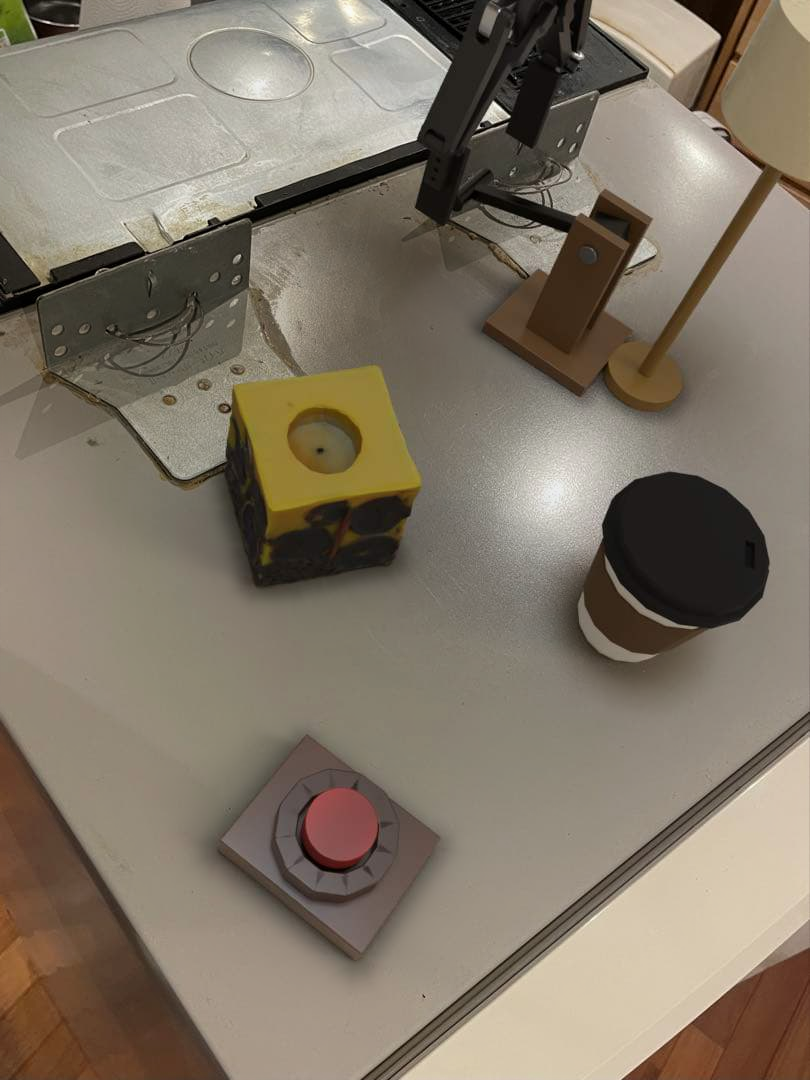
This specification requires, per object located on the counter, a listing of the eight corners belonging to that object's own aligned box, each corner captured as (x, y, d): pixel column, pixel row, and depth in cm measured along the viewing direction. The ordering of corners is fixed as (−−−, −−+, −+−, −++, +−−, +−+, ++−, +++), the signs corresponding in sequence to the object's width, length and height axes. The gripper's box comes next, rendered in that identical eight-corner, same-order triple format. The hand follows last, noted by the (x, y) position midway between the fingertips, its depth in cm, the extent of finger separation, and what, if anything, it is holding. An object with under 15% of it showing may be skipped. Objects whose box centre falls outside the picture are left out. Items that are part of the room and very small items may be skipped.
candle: (355, 449, 74) (381, 360, 65) (397, 565, 69) (430, 485, 61) (220, 468, 70) (229, 377, 62) (254, 591, 66) (269, 511, 57)
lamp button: (286, 838, 54) (290, 829, 53) (330, 782, 57) (334, 772, 55) (344, 884, 54) (349, 876, 52) (385, 826, 56) (392, 817, 55)
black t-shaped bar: (446, 214, 80) (447, 187, 78) (478, 186, 82) (480, 159, 80) (604, 272, 74) (609, 244, 73) (633, 240, 77) (639, 213, 75)
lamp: (555, 380, 82) (750, 10, 55) (614, 312, 88) (816, -53, 61) (667, 455, 80) (924, 111, 54) (719, 381, 86) (975, 37, 59)
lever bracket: (481, 330, 83) (530, 210, 72) (533, 277, 88) (586, 157, 77) (580, 397, 81) (644, 284, 71) (628, 339, 86) (695, 225, 76)
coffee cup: (693, 582, 74) (778, 494, 64) (685, 714, 68) (777, 639, 58) (556, 539, 73) (619, 443, 63) (535, 668, 67) (602, 585, 57)
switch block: (216, 849, 57) (221, 831, 53) (302, 745, 61) (310, 722, 58) (355, 961, 55) (368, 949, 52) (432, 846, 60) (449, 829, 56)
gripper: (519, -7, 54) (430, 278, 71) (703, -135, 67) (589, 133, 85) (408, -74, 55) (347, 224, 73) (610, -187, 68) (517, 88, 86)
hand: (477, 175), depth 79 cm, fingers open, 13 cm apart
